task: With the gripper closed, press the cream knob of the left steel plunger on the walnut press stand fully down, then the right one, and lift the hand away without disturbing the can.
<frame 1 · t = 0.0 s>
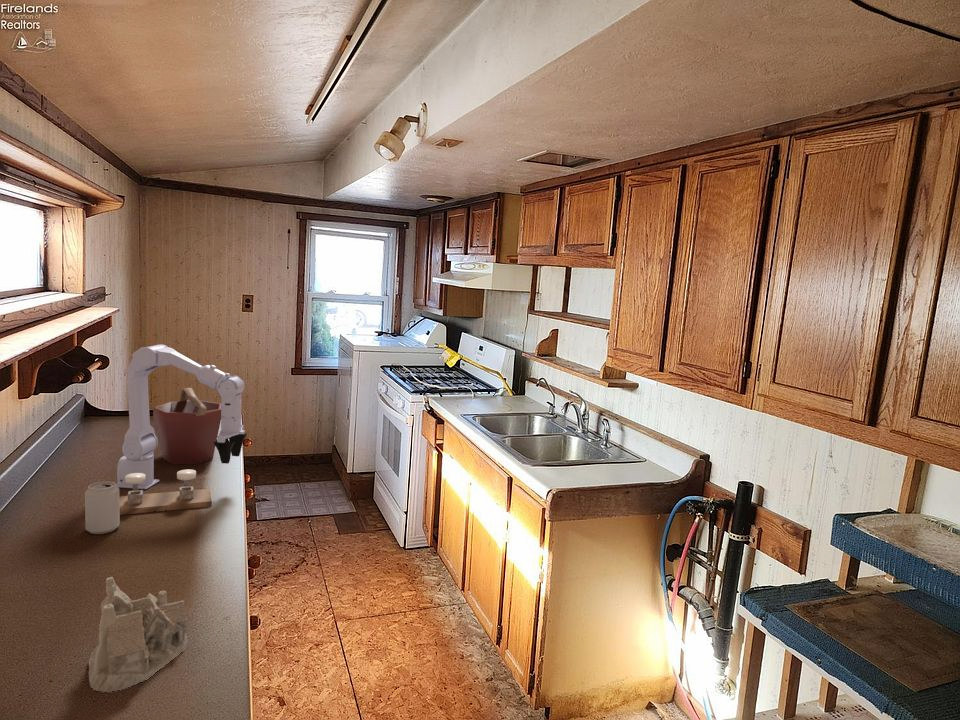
hand: (230, 459, 189), 10 cm above the worktop, tool pointing down, fingers open, 7 cm apart
press stand: (161, 504, 176), on the worktop
can: (102, 530, 158), on the worktop
bucket: (187, 458, 220), on the worktop
plunger b: (186, 478, 178), point 7 cm above the worktop, slide at 3.0 cm
ceramic cottage: (139, 660, 108), on the worktop
plunger a: (135, 482, 173), point 7 cm above the worktop, slide at 3.0 cm
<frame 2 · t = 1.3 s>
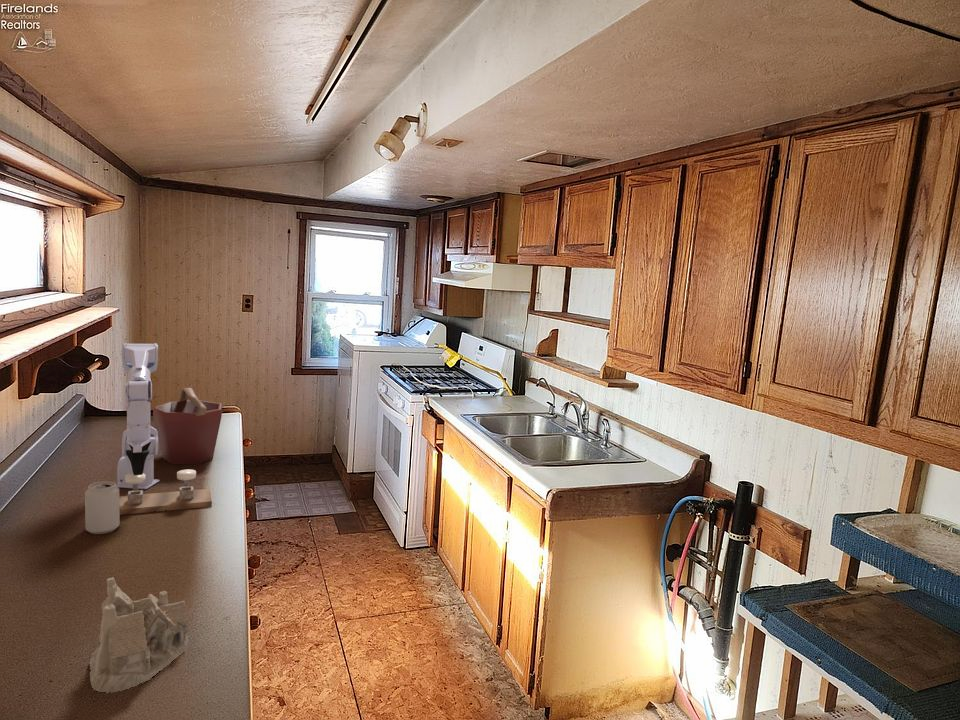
hand: (139, 470, 173), 10 cm above the worktop, tool pointing down, fingers open, 7 cm apart
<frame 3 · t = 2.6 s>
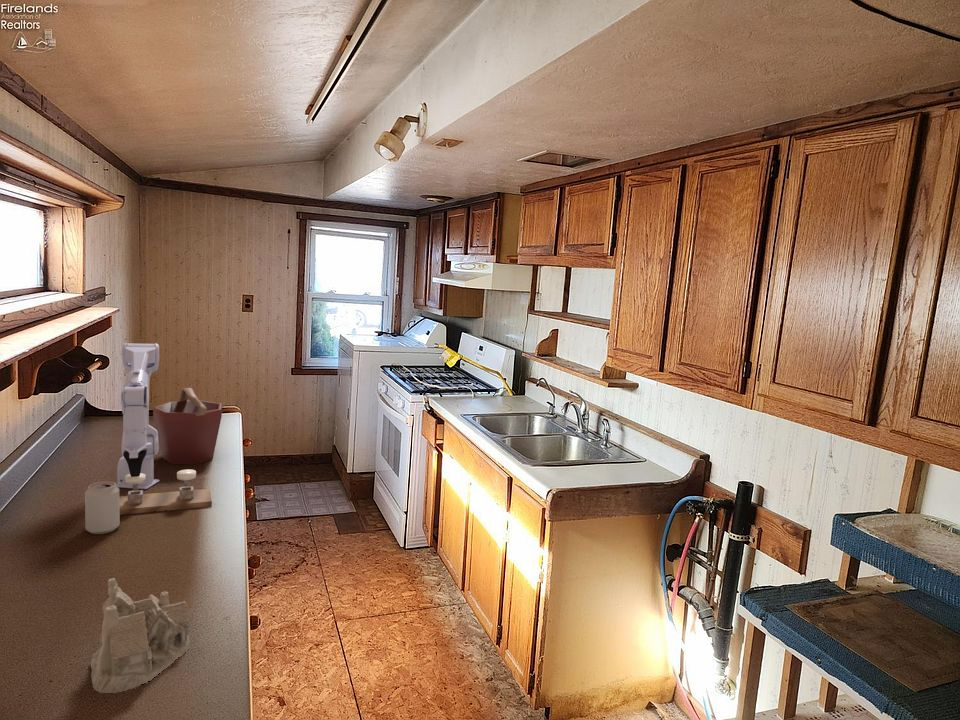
hand: (135, 476, 172), 9 cm above the worktop, tool pointing down, fingers closed, pressing on plunger a
plunger a: (135, 482, 173), point 7 cm above the worktop, slide at 3.0 cm, touching gripper
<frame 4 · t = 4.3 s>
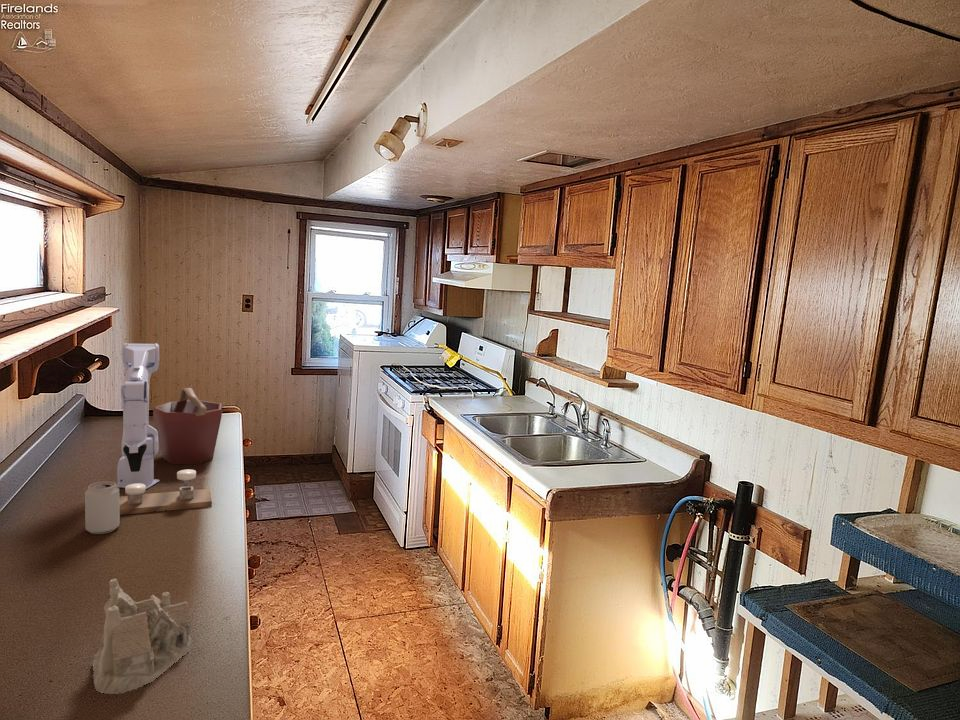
hand: (135, 471, 172), 10 cm above the worktop, tool pointing down, fingers closed
plunger a: (135, 493, 173), point 4 cm above the worktop, slide at -0.1 cm
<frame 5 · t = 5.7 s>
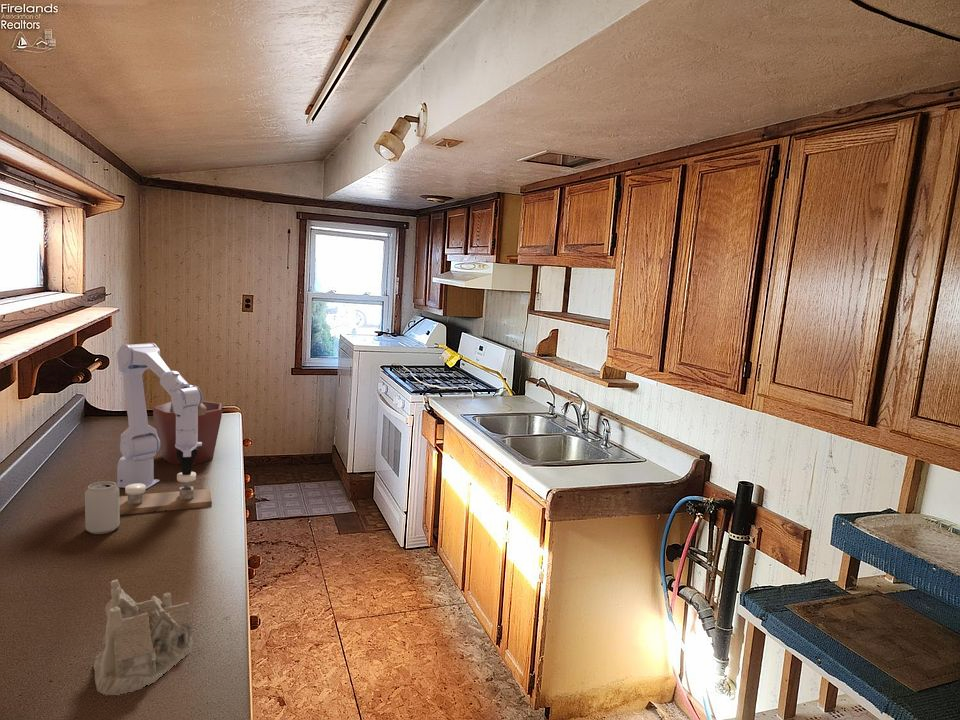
hand: (186, 474, 178), 8 cm above the worktop, tool pointing down, fingers closed, pressing on plunger b
plunger b: (186, 480, 178), point 6 cm above the worktop, slide at 2.4 cm, touching gripper
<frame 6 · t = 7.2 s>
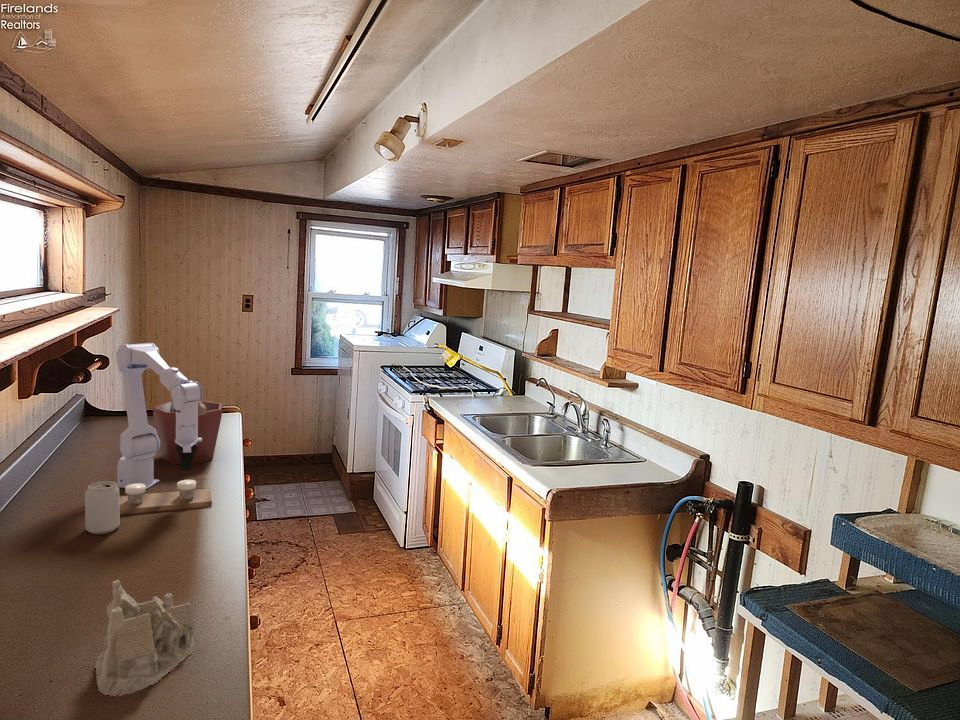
hand: (186, 469, 178), 10 cm above the worktop, tool pointing down, fingers closed
plunger b: (186, 489, 179), point 4 cm above the worktop, slide at -0.1 cm
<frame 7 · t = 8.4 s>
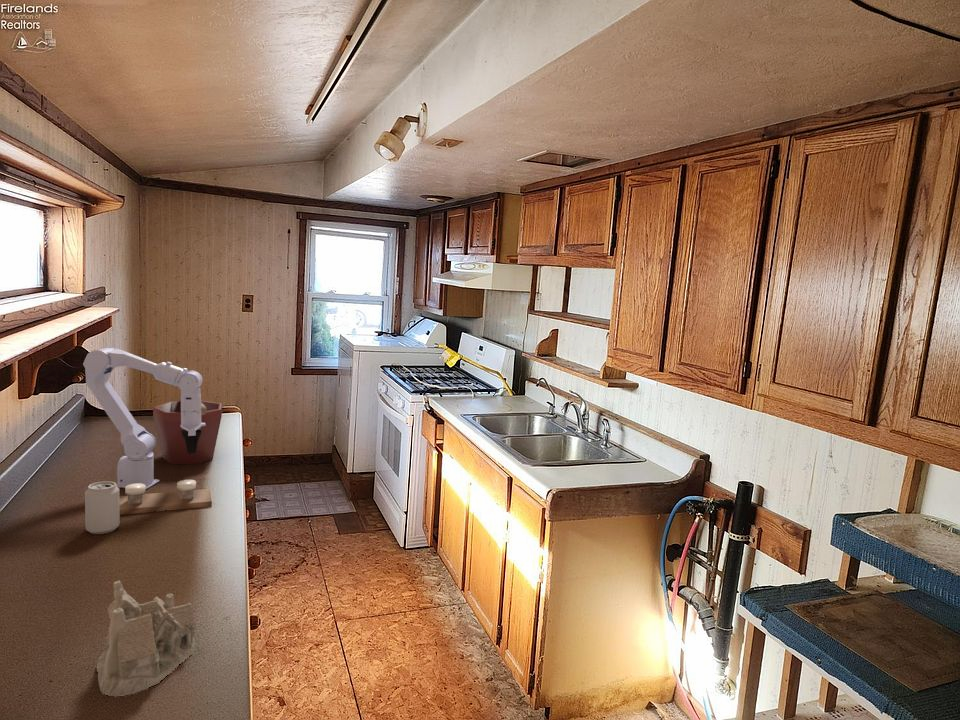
hand: (191, 452, 192), 10 cm above the worktop, tool pointing down, fingers closed
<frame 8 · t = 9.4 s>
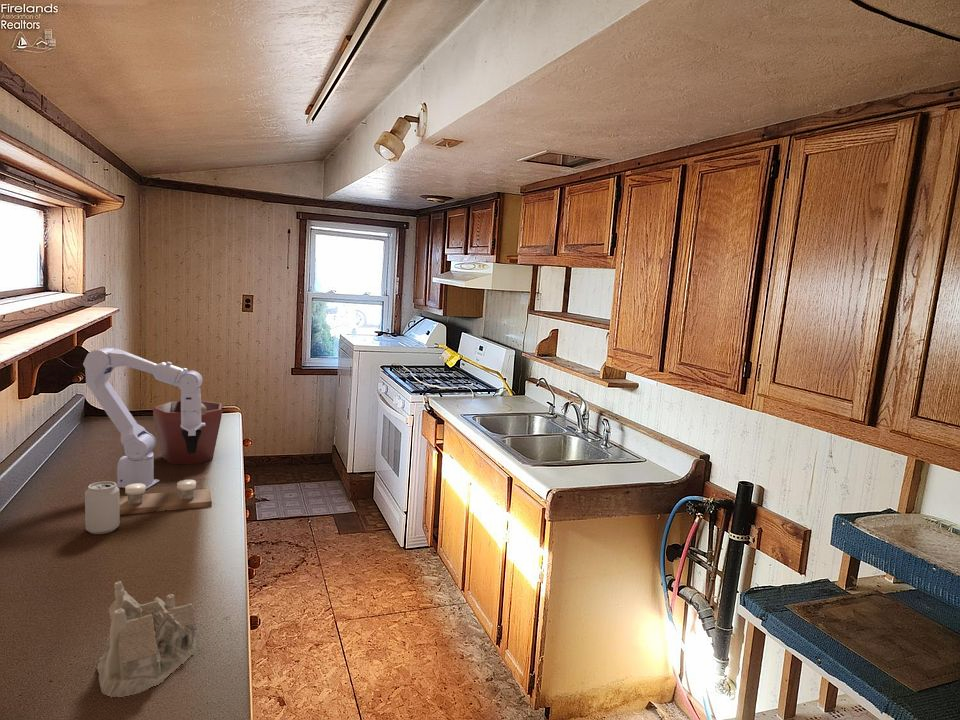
hand: (191, 452, 192), 10 cm above the worktop, tool pointing down, fingers closed
at the end: plunger a slide at -0.1 cm; plunger b slide at -0.1 cm; can moved 0.2 cm from its start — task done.
